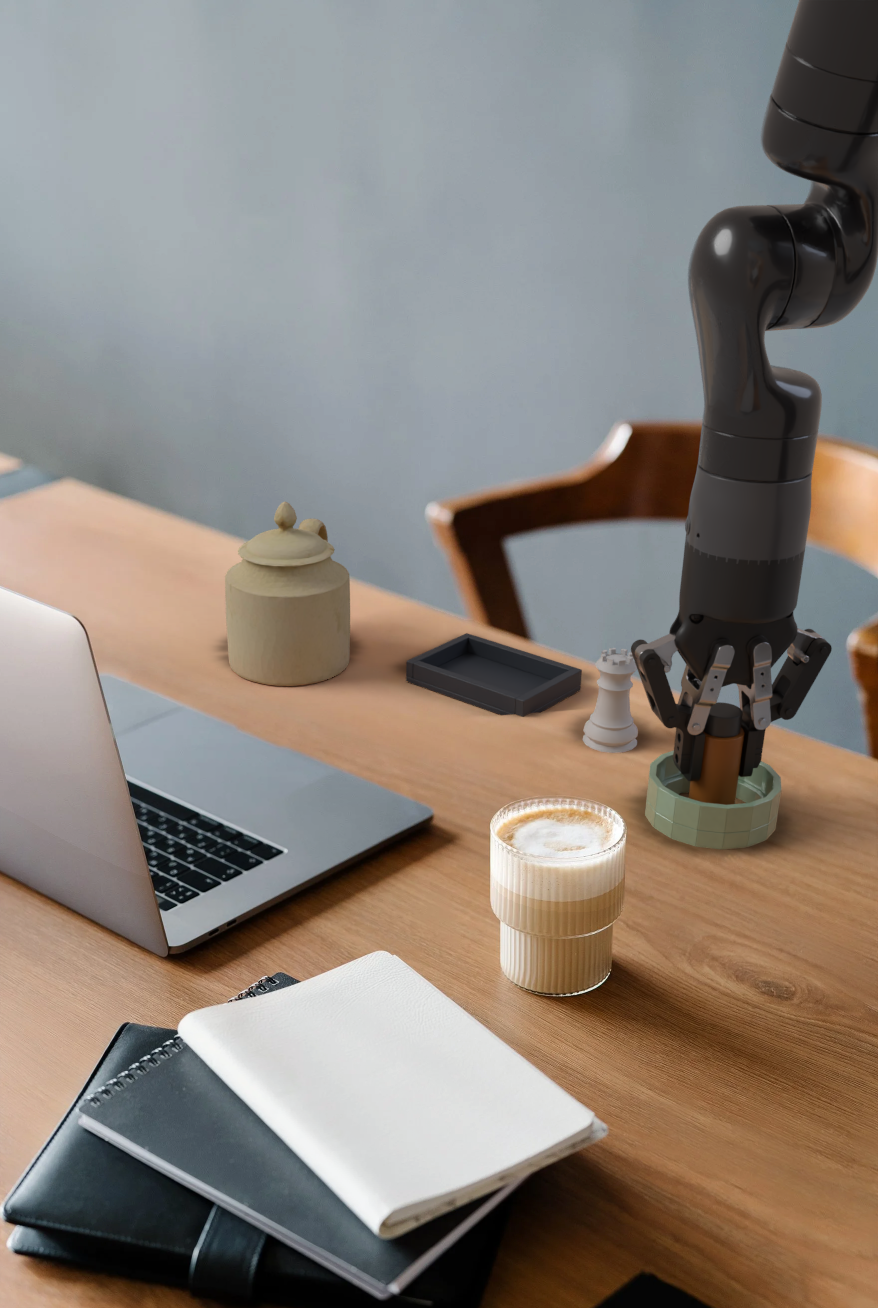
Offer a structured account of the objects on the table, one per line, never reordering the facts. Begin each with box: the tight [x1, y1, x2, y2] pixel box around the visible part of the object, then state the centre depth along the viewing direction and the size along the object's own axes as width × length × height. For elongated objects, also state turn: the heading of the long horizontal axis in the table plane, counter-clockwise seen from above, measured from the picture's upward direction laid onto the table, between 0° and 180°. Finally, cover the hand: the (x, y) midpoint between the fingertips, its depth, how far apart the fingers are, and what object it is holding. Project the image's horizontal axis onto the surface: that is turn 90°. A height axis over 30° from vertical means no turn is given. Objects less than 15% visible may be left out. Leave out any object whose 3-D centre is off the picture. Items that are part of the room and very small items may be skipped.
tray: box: [405, 632, 583, 718], centre depth 121 cm, size 13×9×2 cm
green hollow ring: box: [644, 749, 783, 851], centre depth 98 cm, size 9×9×4 cm
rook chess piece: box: [582, 647, 639, 754], centre depth 109 cm, size 4×4×8 cm
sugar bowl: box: [224, 501, 351, 687], centre depth 124 cm, size 15×11×15 cm
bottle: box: [688, 701, 744, 805], centre depth 97 cm, size 3×3×9 cm
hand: (715, 772), depth 97 cm, fingers closed on bottle, 3 cm apart
